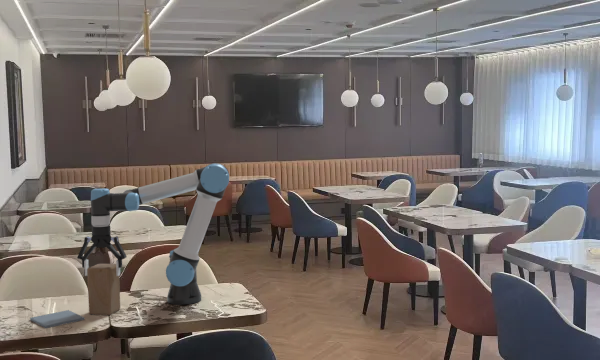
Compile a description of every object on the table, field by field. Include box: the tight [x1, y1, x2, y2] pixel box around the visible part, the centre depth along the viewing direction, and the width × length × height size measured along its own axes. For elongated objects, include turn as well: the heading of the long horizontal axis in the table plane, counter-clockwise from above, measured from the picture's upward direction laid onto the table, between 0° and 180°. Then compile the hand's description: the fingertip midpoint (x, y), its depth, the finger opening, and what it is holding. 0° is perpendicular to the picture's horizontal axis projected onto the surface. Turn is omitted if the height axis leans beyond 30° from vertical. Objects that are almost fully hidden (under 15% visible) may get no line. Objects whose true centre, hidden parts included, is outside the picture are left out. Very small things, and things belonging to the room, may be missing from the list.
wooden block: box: [86, 263, 121, 316], centre depth 281 cm, size 10×10×20 cm
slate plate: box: [29, 309, 86, 329], centre depth 271 cm, size 16×16×1 cm
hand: (102, 275), depth 280 cm, fingers open, 13 cm apart
